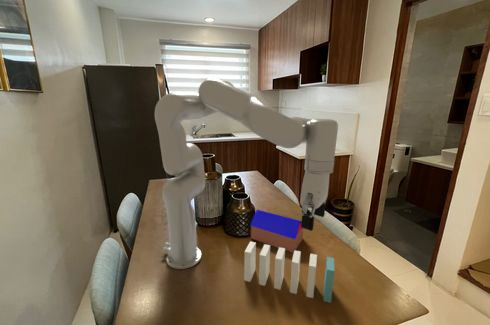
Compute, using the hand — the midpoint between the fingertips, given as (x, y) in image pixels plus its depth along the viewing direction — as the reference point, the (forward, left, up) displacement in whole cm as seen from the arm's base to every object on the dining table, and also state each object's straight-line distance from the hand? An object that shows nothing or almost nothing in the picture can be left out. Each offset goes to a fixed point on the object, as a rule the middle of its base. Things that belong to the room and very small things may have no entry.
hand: (313, 221), depth 68 cm
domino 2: (-14, 0, -24) cm, 27 cm away
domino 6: (+6, 0, -24) cm, 24 cm away
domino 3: (-9, 0, -24) cm, 25 cm away
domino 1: (-19, 0, -24) cm, 30 cm away
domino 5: (+1, 0, -24) cm, 24 cm away
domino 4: (-4, 0, -24) cm, 24 cm away
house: (-15, +25, -24) cm, 38 cm away
